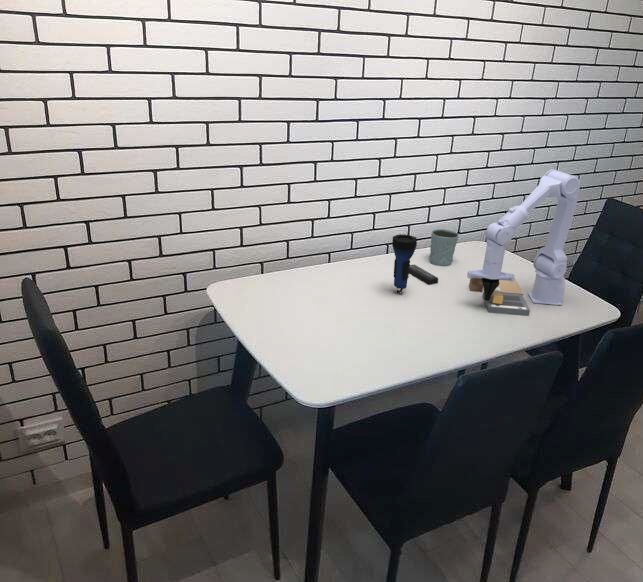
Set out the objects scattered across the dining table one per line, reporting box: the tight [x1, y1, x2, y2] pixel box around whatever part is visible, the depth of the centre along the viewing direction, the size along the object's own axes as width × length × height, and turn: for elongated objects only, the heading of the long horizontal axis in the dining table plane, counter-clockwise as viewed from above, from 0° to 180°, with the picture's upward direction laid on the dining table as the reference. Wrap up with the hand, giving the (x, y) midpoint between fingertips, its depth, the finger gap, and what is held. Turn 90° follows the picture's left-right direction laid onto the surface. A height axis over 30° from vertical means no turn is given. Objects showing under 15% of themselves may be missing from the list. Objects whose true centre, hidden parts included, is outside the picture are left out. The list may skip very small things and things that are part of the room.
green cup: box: [429, 228, 459, 267], centre depth 222 cm, size 10×10×12 cm
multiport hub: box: [409, 264, 439, 286], centre depth 210 cm, size 4×14×2 cm, turn 29°
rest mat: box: [498, 278, 524, 296], centre depth 206 cm, size 12×14×1 cm
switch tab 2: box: [491, 293, 503, 304], centre depth 187 cm, size 3×3×2 cm
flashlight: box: [392, 233, 418, 294], centre depth 192 cm, size 8×8×20 cm
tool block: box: [468, 278, 484, 293], centre depth 201 cm, size 4×4×6 cm
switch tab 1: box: [491, 287, 501, 297], centre depth 192 cm, size 3×3×2 cm
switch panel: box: [482, 291, 531, 317], centre depth 190 cm, size 13×12×2 cm
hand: (486, 299), depth 188 cm, fingers closed
